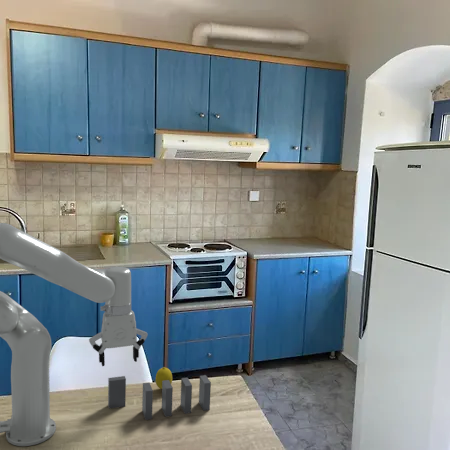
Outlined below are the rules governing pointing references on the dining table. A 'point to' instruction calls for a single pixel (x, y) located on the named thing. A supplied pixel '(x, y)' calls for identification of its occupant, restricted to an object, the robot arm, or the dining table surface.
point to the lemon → (163, 376)
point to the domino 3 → (167, 398)
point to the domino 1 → (116, 392)
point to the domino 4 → (186, 395)
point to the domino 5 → (204, 392)
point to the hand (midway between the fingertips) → (119, 362)
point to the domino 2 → (147, 401)
